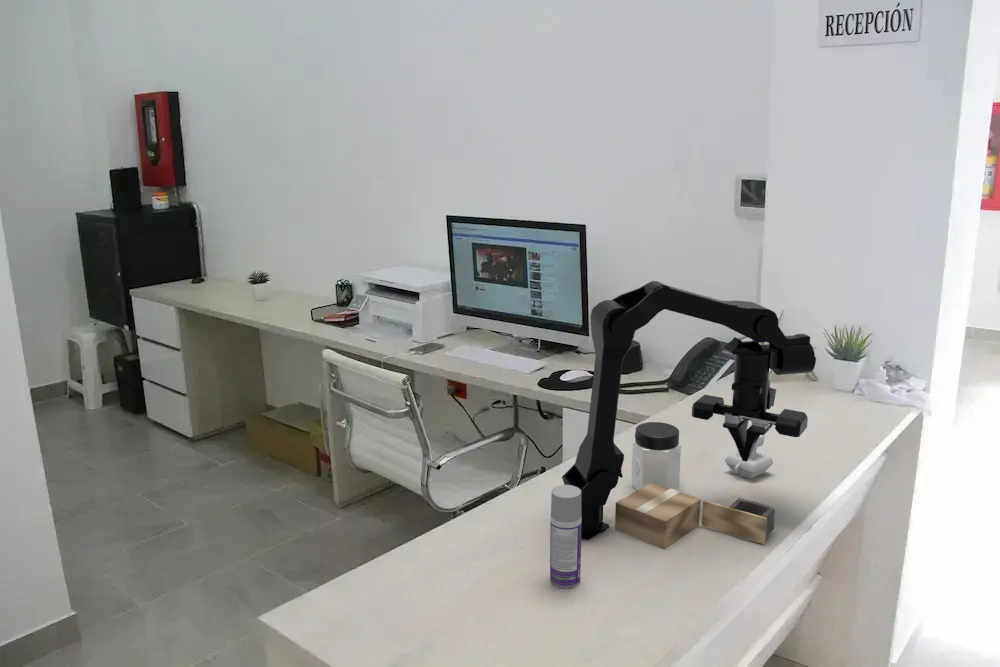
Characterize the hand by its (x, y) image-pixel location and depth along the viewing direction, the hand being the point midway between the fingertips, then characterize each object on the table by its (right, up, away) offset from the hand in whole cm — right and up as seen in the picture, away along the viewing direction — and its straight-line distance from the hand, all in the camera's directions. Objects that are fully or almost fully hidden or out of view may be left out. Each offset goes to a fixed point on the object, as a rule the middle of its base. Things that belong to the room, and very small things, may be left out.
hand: (745, 460), depth 147 cm
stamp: (+6, -6, +18) cm, 20 cm away
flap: (-3, -11, -4) cm, 12 cm away
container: (-33, -16, -19) cm, 41 cm away
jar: (-14, -7, +13) cm, 20 cm away
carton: (-16, -11, -3) cm, 20 cm away
